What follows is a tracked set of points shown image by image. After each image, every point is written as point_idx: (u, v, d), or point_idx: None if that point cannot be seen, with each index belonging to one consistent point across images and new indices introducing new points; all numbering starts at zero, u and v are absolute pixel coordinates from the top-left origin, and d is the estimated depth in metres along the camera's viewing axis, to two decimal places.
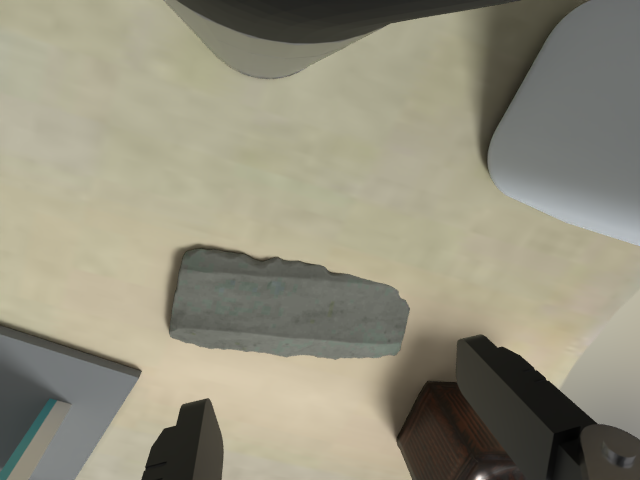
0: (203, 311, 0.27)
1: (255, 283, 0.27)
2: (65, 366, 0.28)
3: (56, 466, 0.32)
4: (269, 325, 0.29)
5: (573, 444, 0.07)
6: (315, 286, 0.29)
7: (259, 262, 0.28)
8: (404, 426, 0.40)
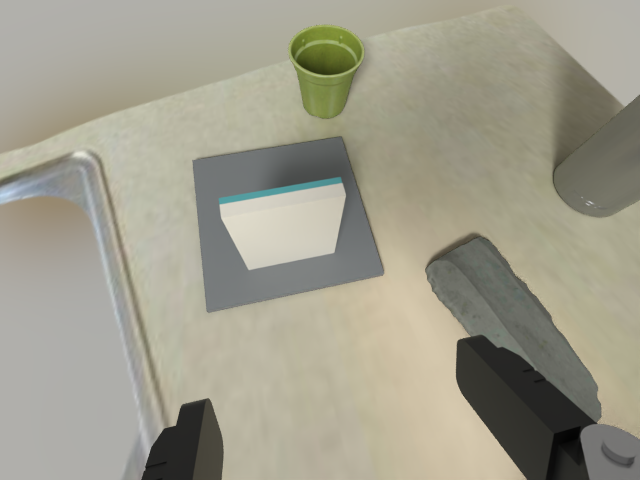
0: (469, 264, 0.38)
1: (509, 280, 0.38)
2: (361, 232, 0.40)
3: (268, 279, 0.37)
4: (499, 310, 0.36)
5: (573, 444, 0.07)
6: (542, 319, 0.37)
7: (515, 276, 0.39)
8: None
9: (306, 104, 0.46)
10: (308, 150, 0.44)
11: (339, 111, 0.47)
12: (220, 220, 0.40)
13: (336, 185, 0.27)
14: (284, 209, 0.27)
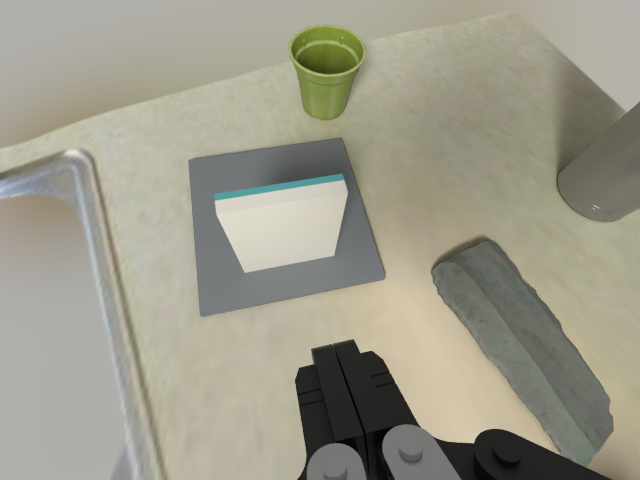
0: (476, 267, 0.37)
1: (517, 285, 0.37)
2: (362, 234, 0.39)
3: (264, 282, 0.36)
4: (507, 315, 0.35)
5: None
6: (551, 326, 0.35)
7: (523, 281, 0.38)
8: None
9: (306, 105, 0.46)
10: (307, 151, 0.43)
11: (340, 112, 0.47)
12: (216, 221, 0.39)
13: (338, 182, 0.26)
14: (282, 207, 0.25)
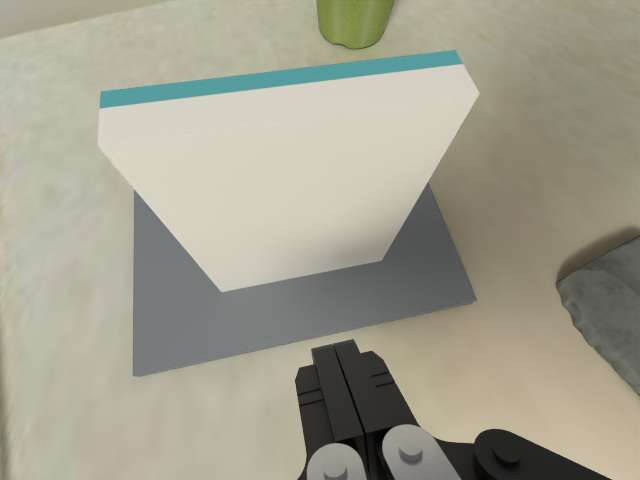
0: None
1: None
2: (427, 223, 0.22)
3: (258, 311, 0.19)
4: None
5: None
6: None
7: None
8: None
9: (325, 22, 0.29)
10: None
11: (377, 37, 0.30)
12: None
13: (447, 69, 0.10)
14: (298, 132, 0.09)
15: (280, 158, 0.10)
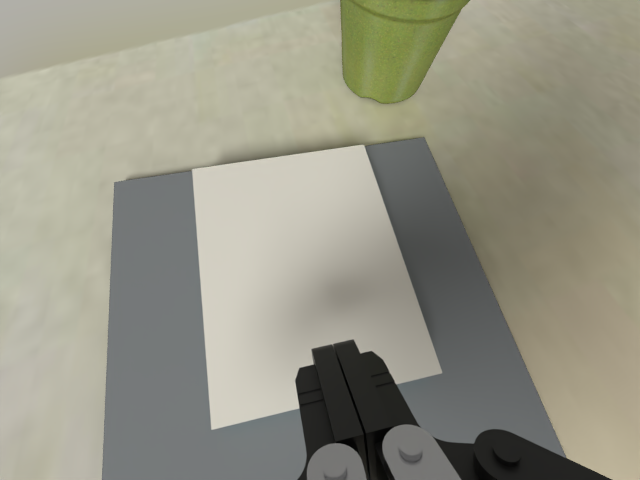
0: None
1: None
2: (500, 360, 0.17)
3: None
4: None
5: None
6: None
7: None
8: None
9: (353, 73, 0.24)
10: None
11: (415, 89, 0.25)
12: (162, 329, 0.17)
13: None
14: (280, 164, 0.19)
15: (273, 179, 0.19)
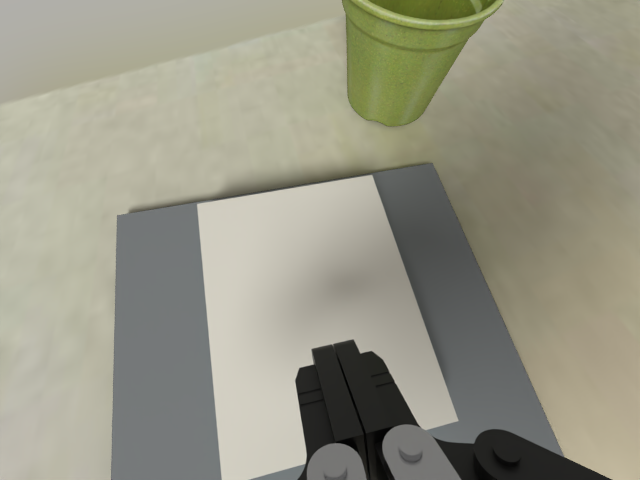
0: None
1: None
2: (515, 401, 0.16)
3: None
4: None
5: None
6: None
7: None
8: None
9: (359, 97, 0.23)
10: None
11: (421, 112, 0.24)
12: (169, 373, 0.16)
13: None
14: (287, 197, 0.19)
15: (280, 213, 0.18)
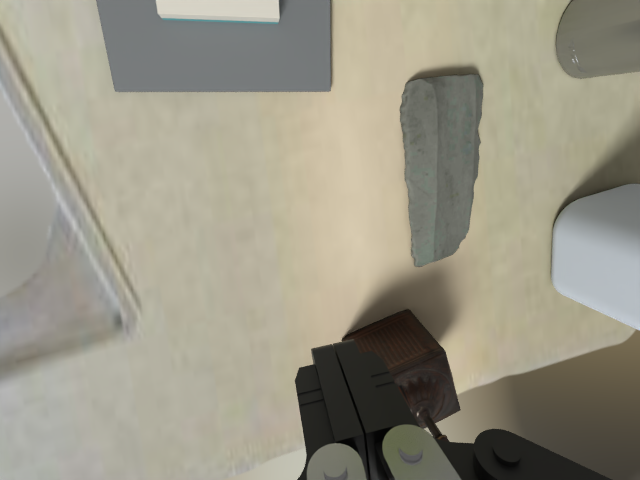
0: (447, 99, 0.36)
1: (470, 131, 0.38)
2: (318, 27, 0.32)
3: (192, 66, 0.31)
4: (442, 154, 0.38)
5: None
6: (469, 176, 0.40)
7: (477, 130, 0.39)
8: (362, 329, 0.45)
9: None
10: None
11: None
12: None
13: None
14: None
15: None
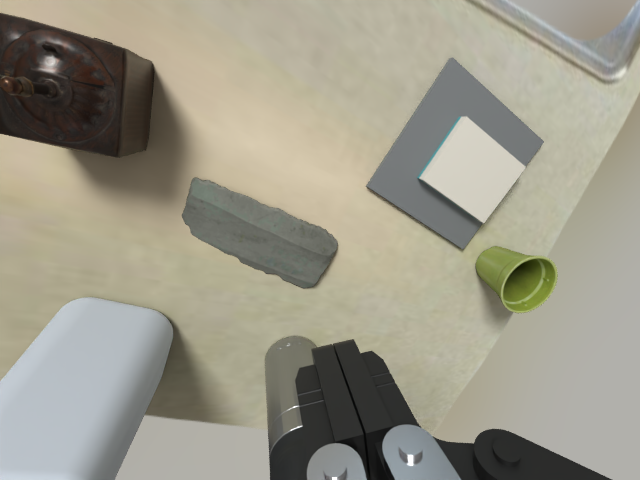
0: (313, 261, 0.49)
1: (281, 268, 0.49)
2: (401, 199, 0.49)
3: (432, 114, 0.46)
4: (281, 243, 0.47)
5: None
6: (248, 255, 0.48)
7: None
8: (152, 91, 0.39)
9: (503, 248, 0.55)
10: (475, 220, 0.53)
11: (477, 265, 0.56)
12: (492, 121, 0.48)
13: None
14: (502, 193, 0.50)
15: (501, 186, 0.50)
